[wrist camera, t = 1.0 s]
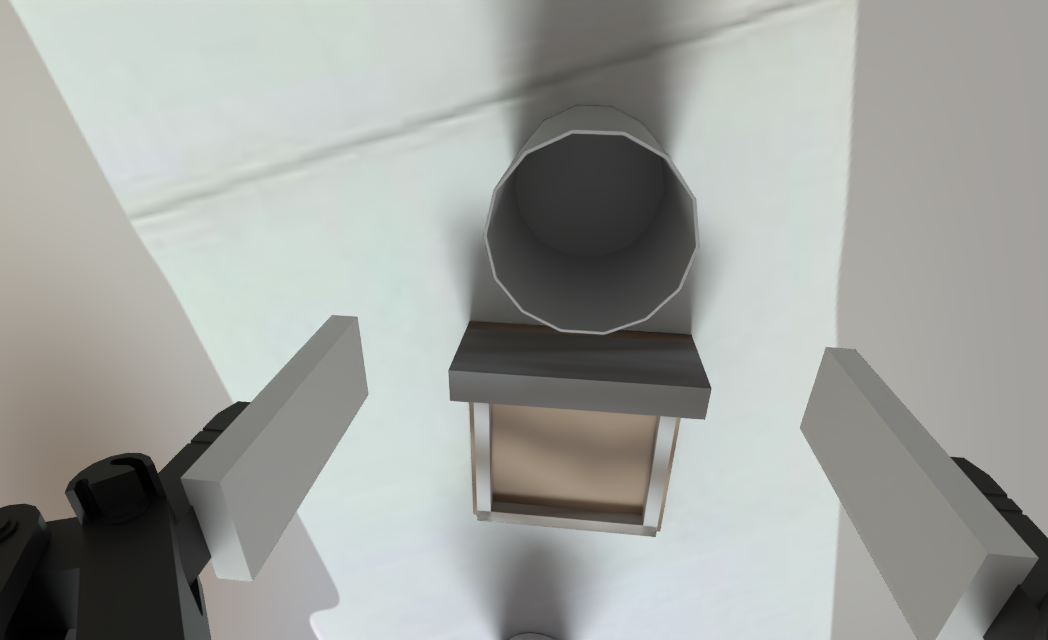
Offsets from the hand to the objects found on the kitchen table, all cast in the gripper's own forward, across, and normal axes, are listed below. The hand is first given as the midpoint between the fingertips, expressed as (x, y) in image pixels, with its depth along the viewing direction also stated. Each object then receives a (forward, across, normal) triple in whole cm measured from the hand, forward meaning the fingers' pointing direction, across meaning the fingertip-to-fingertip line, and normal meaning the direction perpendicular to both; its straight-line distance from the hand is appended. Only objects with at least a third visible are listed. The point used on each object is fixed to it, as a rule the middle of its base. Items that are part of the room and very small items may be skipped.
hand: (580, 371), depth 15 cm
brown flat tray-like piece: (+17, 0, -16) cm, 23 cm away
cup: (+17, 0, +1) cm, 17 cm away
